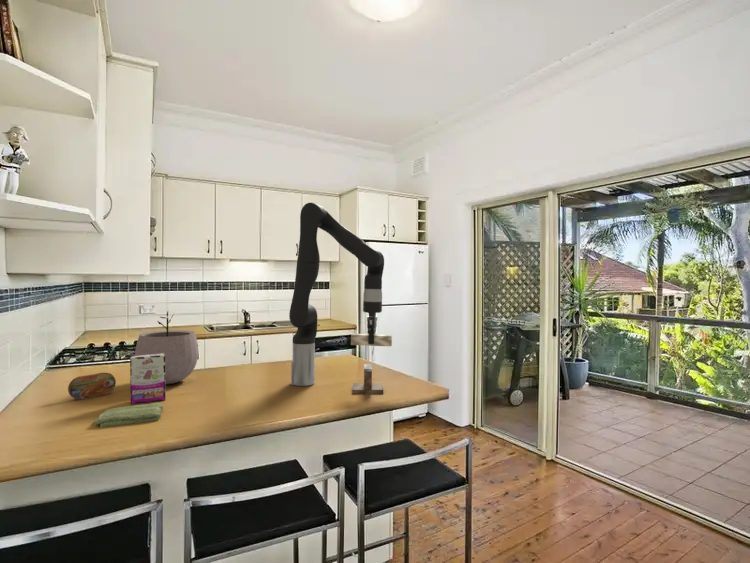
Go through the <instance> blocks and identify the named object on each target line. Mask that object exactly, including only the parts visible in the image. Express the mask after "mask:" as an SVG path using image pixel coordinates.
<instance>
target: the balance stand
mask: <svg viewBox="0 0 750 563" xmlns="http://www.w3.org/2000/svg"><path fill="white" fill-rule="evenodd" d="M372 366H373V364H372V363H363V383H361V382H358V383H356V382H354V383H352V388H351V390H352V391H351V392H352V394H365V395H367V394H368V395H371V394H372V395H373V394H377V395H380V394H381V395H382V394H384V384H383V383H381V382H377V383H375V382H373V367H372Z"/></svg>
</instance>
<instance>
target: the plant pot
mask: <svg viewBox="0 0 750 563" xmlns="http://www.w3.org/2000/svg"><path fill="white" fill-rule="evenodd" d="M174 315H175V313H173V315H172V316H171V317H170V319H169V311H167V312H166V317H163V316H159V318H161V319H166V326H165V325H164V324H163V323H162V322H161V321H159V320H157V323H158V324H159V325H162V328H163V329H164V328H165V330H156V331H155V330H154V331H148V332H147V331H146V332H143V333H140V334H139V335H138V338H137V342H136V345H135V346H136V347H135V351H134V352H135V353H134V356H137V355H150V354H163V353H165V385H170V384H175V383H179V382H181V381H183V380H185V379H186V378H187V377H189V376H190V375H191V374H192V373H193V372H194V370H195V368H196V366H197V362H198V358H199V344H198V340H197V336H196V335H197V334H196V332H195V331H193V330H183V329H182V330H181V329H177V330H176V329H174V330H173V329H172V330H169V323H171V321H172V318H173V317H174Z"/></svg>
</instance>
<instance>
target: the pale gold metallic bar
mask: <svg viewBox="0 0 750 563" xmlns="http://www.w3.org/2000/svg"><path fill="white" fill-rule="evenodd" d="M350 335H351V336H350V345H351V346H368V347H369V346H371V347H392V346H393V334H379V333H378V334H377V333H375V334H374V344H368V333H351V334H350Z"/></svg>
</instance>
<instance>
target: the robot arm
mask: <svg viewBox="0 0 750 563" xmlns="http://www.w3.org/2000/svg"><path fill="white" fill-rule="evenodd" d="M299 216H300V217H299V218H300V219H299V220H300V221H299V223H300V226H299V241H298V242H299V243H298V252H297V259H296V266H295V268H296V269H295V277H294V278H295V279H294V289H293V294H292V295H293V296H292V299H291V303H290V308H289V315H288V316H289V322H290V323H291V325H292V326H293V327H295V328H297V329H296V331H295V332H296V333H295V334H294V335H292V361H291V365H290V366H291V367H290V368H291V372H290V374H291V375H290V377H291V378H290V379H291V380H290V381H291V383H290V385H291V386H297V387H308V386H312V385H315V379H316V378H315V372H316V370H315V368H316V364H315V362H316V361H315V359H316V356H315V355H316V348H315V347H316V343H315V342H316V341H315V340H316V337H317V334H318V332H317V331H318V311H317V308H316V307H315V306H314V305H312V304H310V303H309V302H310V294H311V292H312V289H313V287H314V286H315V283H316V282H317V278H318V277H319V276H318V275H319V271H320V262H321V260H320V258H321V257H320V251H319V245H318V229H320V230H322V231H324V232H326V233H327V234H328V235H330V236H331V237H332V238H333V239H334V240H335V241H336V242H337V243H338V244H339V245H340V246H341V247H343V249H345V250H346V251H348V252H349V253H351V255H353V256H355V258H356V259H357V260H358V261H360V262H361V263H362V264H363V265H365V266H366V267H367V269H366V270H367V272H366V274H365V276H364V279H363V280H364V282H363V283H364V285H363V287H364V288H363V293H362V294H363V299H362V300H363V301H362V312H363V313H368V316H367V317H366V322H367V323H366V326H367V333H366V334H368V344H374V334H376V332H377V324H378V323H377V322H378V316H377V315H376V314H379V313H382V311H383V290H382V288H383V274H384V269H385V268H384V267H385V257H384V255H383V253H382V252H381V251H379V250H376V249H374V248H372V247H370V246H369V245H368V244H367V243H366V242H365V241H364V240H363V239H362V238H360V237H359V236H358V235H356V234H355V233H353V231H351V230H349V229H348V228H346V227H345V226H344V225H342V224H341V223H340V222H339V221H337V220H336V219H335V218H334V217H333V215H332V214H330V212H328V210H327V209H326V208H325V207H324V206H322V205H320V204H317V203H316V202H315V203H314V202H307V203H305V204H304V205H303V206H302V208H301V210H300V214H299Z"/></svg>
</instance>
